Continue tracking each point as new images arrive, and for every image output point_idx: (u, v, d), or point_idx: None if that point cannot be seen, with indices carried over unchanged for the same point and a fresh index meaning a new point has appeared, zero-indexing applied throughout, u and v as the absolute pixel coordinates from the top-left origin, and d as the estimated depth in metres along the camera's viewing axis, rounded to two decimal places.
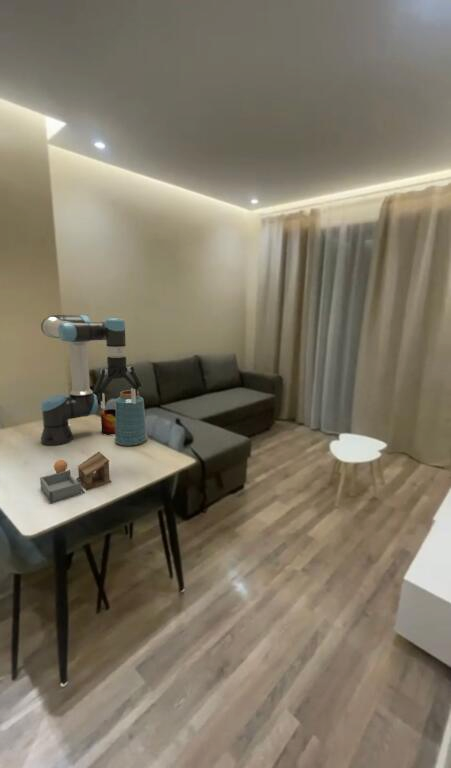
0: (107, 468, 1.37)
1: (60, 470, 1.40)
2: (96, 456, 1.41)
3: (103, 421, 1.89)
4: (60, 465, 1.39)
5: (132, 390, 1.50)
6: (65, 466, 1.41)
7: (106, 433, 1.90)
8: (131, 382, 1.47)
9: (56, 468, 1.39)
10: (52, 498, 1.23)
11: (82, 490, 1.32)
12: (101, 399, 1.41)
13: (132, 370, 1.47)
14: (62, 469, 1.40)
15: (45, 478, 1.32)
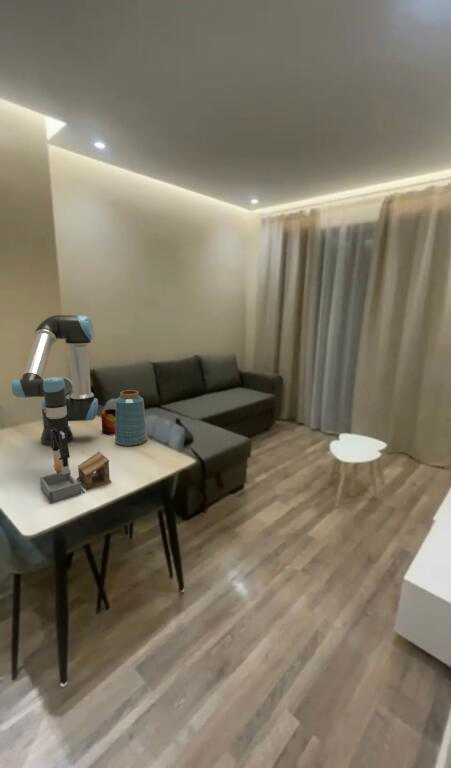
0: (107, 468, 1.37)
1: (60, 470, 1.40)
2: (96, 456, 1.41)
3: (103, 421, 1.89)
4: (60, 465, 1.39)
5: None
6: None
7: (106, 433, 1.90)
8: (59, 449, 1.35)
9: (56, 468, 1.39)
10: (52, 498, 1.23)
11: (82, 490, 1.32)
12: None
13: (59, 437, 1.33)
14: None
15: (45, 478, 1.32)
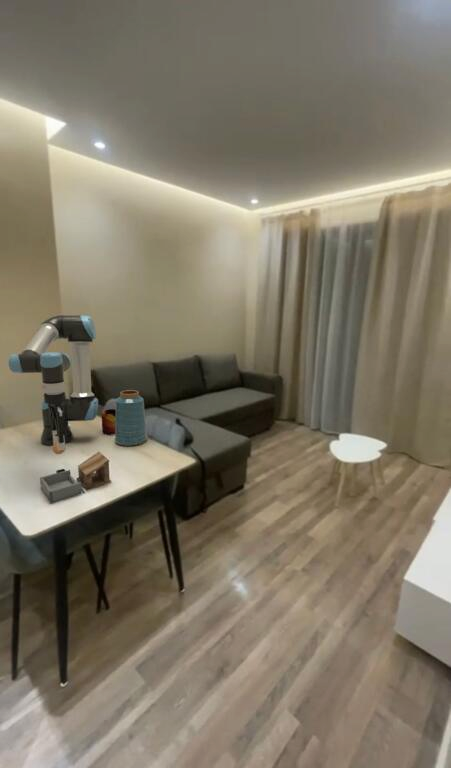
0: (107, 468, 1.37)
1: (58, 452, 1.38)
2: (96, 456, 1.41)
3: (104, 421, 1.89)
4: None
5: None
6: None
7: (107, 433, 1.90)
8: (56, 426, 1.35)
9: (54, 450, 1.38)
10: (52, 498, 1.23)
11: (82, 490, 1.32)
12: None
13: (57, 415, 1.32)
14: (60, 451, 1.38)
15: (45, 478, 1.32)
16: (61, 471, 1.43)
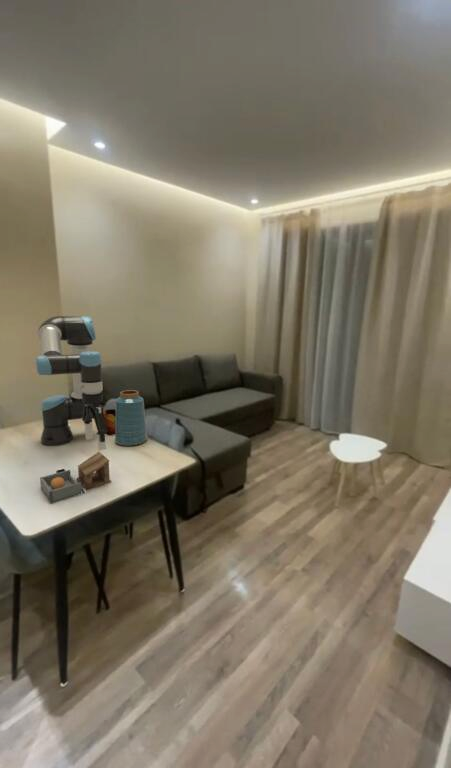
0: (107, 468, 1.37)
1: None
2: (96, 456, 1.41)
3: None
4: (55, 488, 1.28)
5: None
6: (59, 483, 1.28)
7: (107, 433, 1.90)
8: (96, 425, 1.30)
9: None
10: (52, 498, 1.23)
11: (82, 490, 1.32)
12: None
13: (96, 412, 1.28)
14: (61, 486, 1.29)
15: (45, 478, 1.32)
16: (61, 471, 1.43)
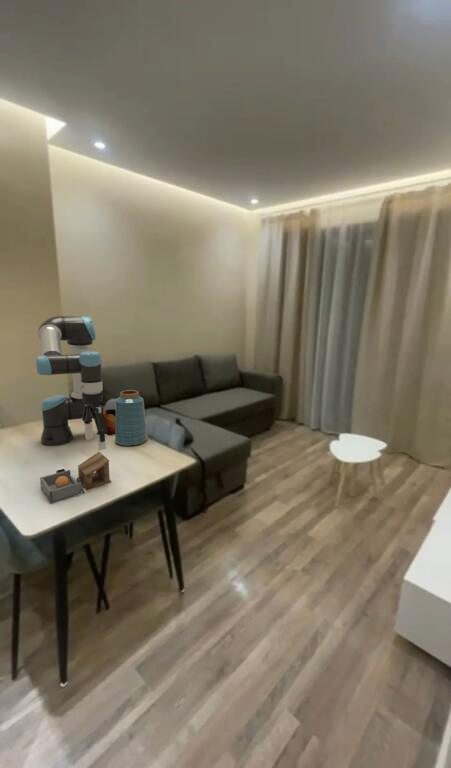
0: (107, 468, 1.37)
1: None
2: (96, 456, 1.41)
3: None
4: (59, 485, 1.28)
5: None
6: (66, 481, 1.30)
7: (107, 433, 1.90)
8: (96, 425, 1.30)
9: None
10: (52, 498, 1.23)
11: (82, 490, 1.32)
12: None
13: (96, 412, 1.28)
14: None
15: (45, 478, 1.32)
16: (61, 471, 1.43)
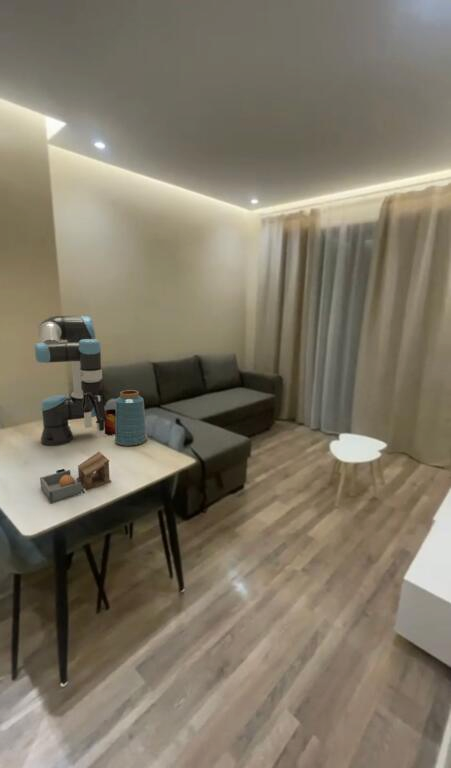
0: (107, 468, 1.37)
1: None
2: (96, 456, 1.41)
3: None
4: (65, 481, 1.29)
5: None
6: (71, 481, 1.31)
7: (107, 433, 1.90)
8: (95, 413, 1.29)
9: (62, 485, 1.30)
10: (52, 498, 1.23)
11: (82, 490, 1.32)
12: None
13: (95, 400, 1.28)
14: None
15: (45, 478, 1.32)
16: (61, 471, 1.43)
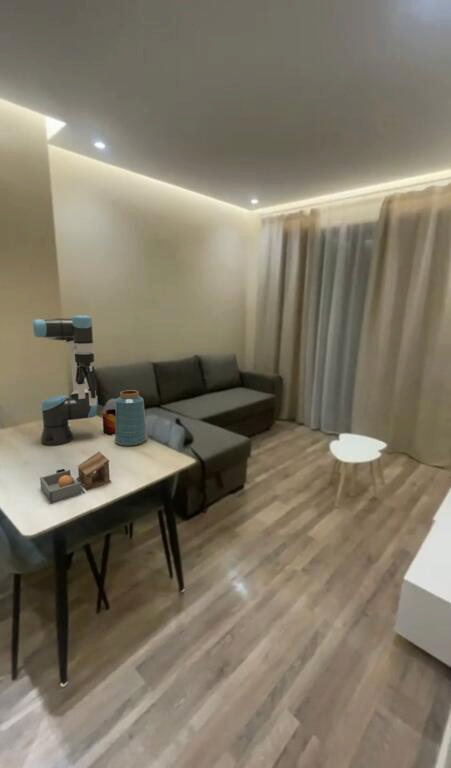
0: (107, 468, 1.37)
1: None
2: (96, 456, 1.41)
3: (105, 421, 1.89)
4: (63, 482, 1.29)
5: None
6: (70, 481, 1.31)
7: (108, 433, 1.90)
8: (87, 382, 1.42)
9: (61, 486, 1.29)
10: (52, 498, 1.23)
11: (82, 490, 1.32)
12: None
13: (87, 370, 1.40)
14: (67, 485, 1.30)
15: (45, 478, 1.32)
16: (61, 471, 1.43)
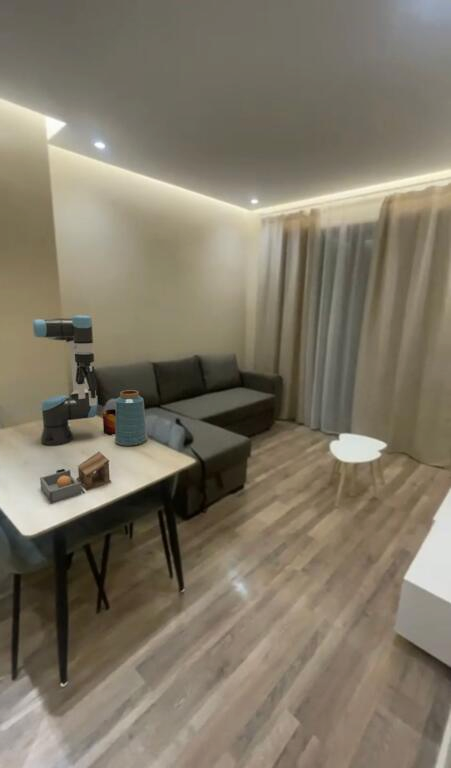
0: (107, 468, 1.37)
1: None
2: (96, 456, 1.41)
3: (105, 421, 1.89)
4: (61, 483, 1.29)
5: None
6: (68, 481, 1.30)
7: (108, 433, 1.90)
8: (87, 382, 1.42)
9: (60, 487, 1.29)
10: (52, 498, 1.23)
11: (82, 490, 1.32)
12: None
13: (87, 370, 1.40)
14: None
15: (45, 478, 1.32)
16: (61, 471, 1.43)
